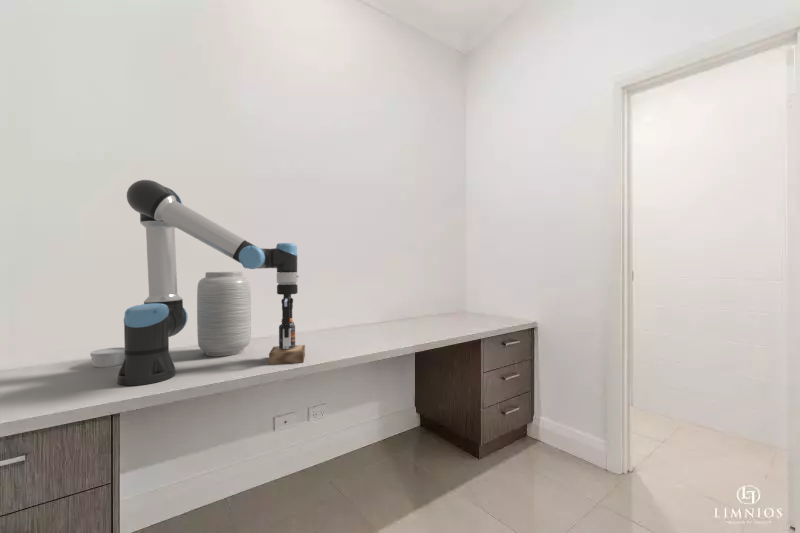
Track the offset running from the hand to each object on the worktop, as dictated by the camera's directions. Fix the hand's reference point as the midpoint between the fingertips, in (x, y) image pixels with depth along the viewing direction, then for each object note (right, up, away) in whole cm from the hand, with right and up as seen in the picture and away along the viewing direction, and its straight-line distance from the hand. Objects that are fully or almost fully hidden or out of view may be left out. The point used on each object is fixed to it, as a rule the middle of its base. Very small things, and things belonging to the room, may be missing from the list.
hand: (287, 343), depth 140 cm
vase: (-30, -7, +13) cm, 34 cm away
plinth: (0, -6, 0) cm, 6 cm away
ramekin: (-64, -7, -4) cm, 65 cm away
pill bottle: (0, -2, 0) cm, 2 cm away
